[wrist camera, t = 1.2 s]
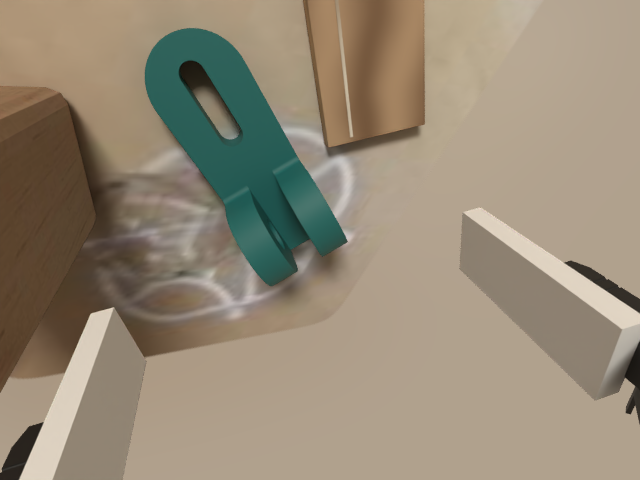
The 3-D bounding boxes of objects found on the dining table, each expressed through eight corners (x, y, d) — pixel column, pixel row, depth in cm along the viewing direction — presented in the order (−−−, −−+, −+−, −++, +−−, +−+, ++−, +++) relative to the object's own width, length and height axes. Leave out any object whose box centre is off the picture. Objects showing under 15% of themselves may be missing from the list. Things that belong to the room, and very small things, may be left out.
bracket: (327, 213, 34) (356, 257, 28) (265, 250, 34) (279, 302, 28) (213, 8, 25) (217, 0, 18) (126, 60, 25) (98, 72, 18)
